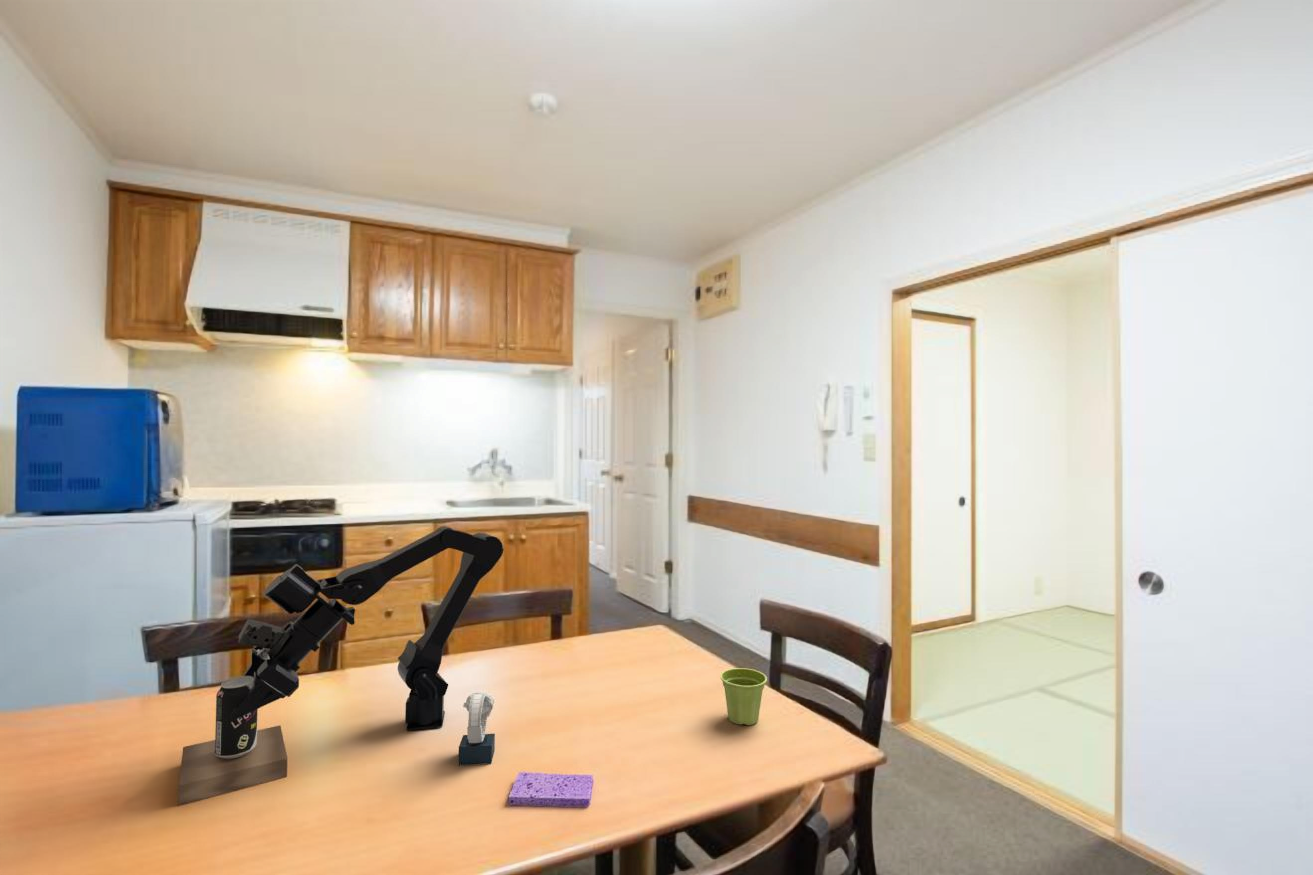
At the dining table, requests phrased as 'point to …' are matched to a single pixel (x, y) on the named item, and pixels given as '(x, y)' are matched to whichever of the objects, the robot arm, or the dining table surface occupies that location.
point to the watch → (477, 731)
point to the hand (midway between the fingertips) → (232, 707)
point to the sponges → (551, 790)
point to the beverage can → (234, 720)
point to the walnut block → (231, 767)
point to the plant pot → (743, 694)
